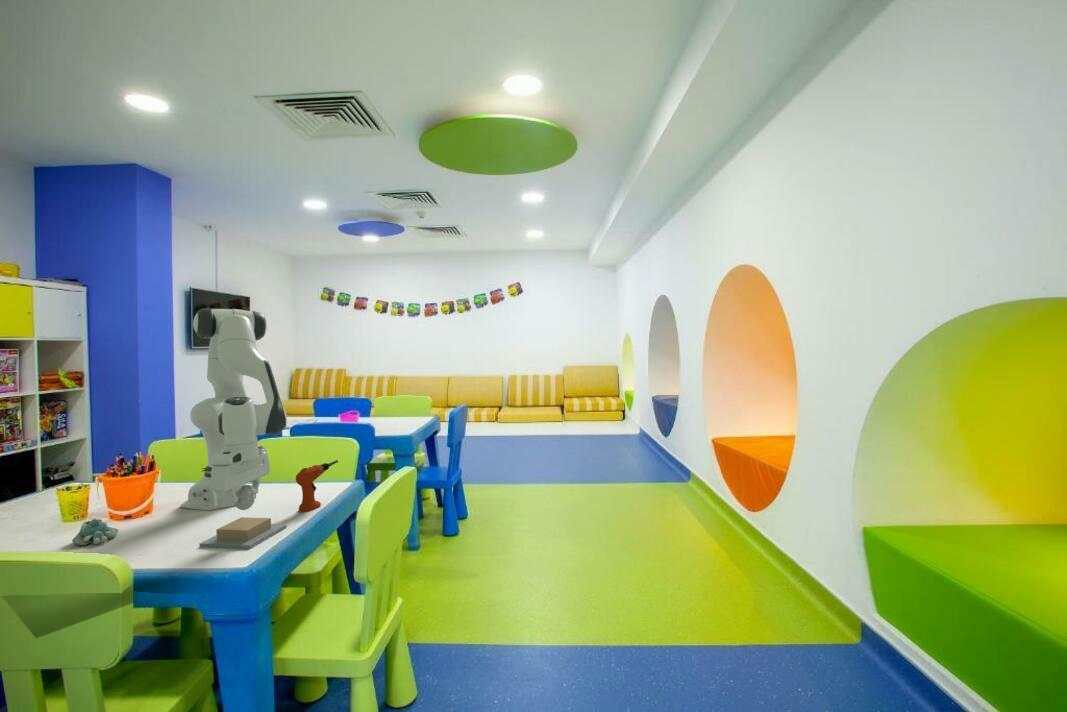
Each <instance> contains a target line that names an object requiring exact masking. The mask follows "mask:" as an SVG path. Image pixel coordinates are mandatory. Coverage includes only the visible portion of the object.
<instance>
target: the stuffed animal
mask: <svg viewBox="0 0 1067 712" xmlns="http://www.w3.org/2000/svg"><path fill="white" fill-rule="evenodd" d="M118 532H119V529H118V528H116V527H110V526H108V523H107V521H106V520H103V519H102V518H93V519H91V520H87V521H85V522H83V523H82V524H81V527H80V529H79V532H78V533H77V534H76V535H75V537H74V538H73V539H71V540H72V541H71V542H72V543H73V544H74V545H76V546H79V545H84V546H88V545H90V544H89V543H92V541H93V544H94V545H98V544H100V543H106V542H107V541H108V540H112V539H114V538H115V537H116V536H117V534H118ZM92 539H93V540H92ZM87 544H88V545H87Z"/></svg>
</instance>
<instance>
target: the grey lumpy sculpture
mask: <svg viewBox="0 0 1067 712" xmlns="http://www.w3.org/2000/svg"><path fill="white" fill-rule="evenodd" d="M257 494H258V493H257V490H256V488H255V487H253V486H252V485H250V484H246V485H243V486H241V488H240V489H239V490H238V491H237V492H236V493H235V495H236V496H239V501H238V502H236V503H234V504H235V505H234V506H235V507H236V508H237V509H238V510H240V511H246V510H249V509H250V508H251V507H252V506H253V505H254V504H255V499H256V498H257Z"/></svg>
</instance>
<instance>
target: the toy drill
mask: <svg viewBox="0 0 1067 712" xmlns="http://www.w3.org/2000/svg"><path fill="white" fill-rule="evenodd" d="M337 463H339V460H338V459H336V460H334V461H332V462H329V463H327V462H326V463H325V462H324V463H322V464H314V465H311V466H309V467H303V468H302V469H300V471H298V472H297V474H296V476H295V482H296V483H297V485H299V486H300V487H301V491H302V492H301V493H302V500H301V504H299V506H298V512H299V511H301V512H300V513H305V512H306V511H307V512H311V511H313V510H317V509H319V508H320V507H321V505H322V503H321V502H320V501H319V500H316V498H315V491H316V490H317V486H316V485H315V484H314V483H315V481H316V480H317V479H318V478H319V477H320V476H322V474H324V473H325V472H326V471H327V470H329V468H330V467H331V466H334V465H335V464H337ZM307 512H306V513H307Z"/></svg>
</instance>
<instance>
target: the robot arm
mask: <svg viewBox="0 0 1067 712" xmlns="http://www.w3.org/2000/svg"><path fill="white" fill-rule="evenodd" d="M192 323H193V324H192V325H193V330H194V331H195V335H197V336H198V337H199V338H201V339H206V340H210V341H209V345H208V351H207V352H208V353H207V357H208V358H207V370H206V378H207V381H208V382H209V383H210V384H211V385H212V387H213V391H214V396H215V397H211V398H210V397H209V398H206V399H204V400H202V401H199V402H198V403H196V404H194V405H193V407H192V408H191V410H190V414H189V415H190V416H189V417H190V421H191V423H192V424H193V425H194V426H195V428H198V429H199V430H200V432H201V434H202V436H203V438H204V441H205V445H206V453H207V466H205V467H203V468H201V471H200V472H201V473H203V472H204V474H203V477H201V478H200V479H199V480H198V481H196V483H194V484H193V485H192V486H191V487H190V488H189V490H188V492H187V493H188V494H187V500H185V501H182V503H181V504H180V505H179V506H180V508H185V509H194V510H200V511H208V512H209V511H213V510H217V509H221V508H222V509H223V508H229V507H232V506H233V507H234V506H235V504H234V503H236V502H238V501H239V496H236V495H235V493H236V492H237V491H238V490H239V489H240V488H241V486H243V485H247V484H248V483H252V484H251V486H253V487H255V488H256V490H257V494H259V487H260V484H261V479H262V478H263V477H265V476H268V475H269V474H270V472H271V464H270V458H269V455H268V453H267V449H266V447H264V446H262V445H260V446H259V440H258V436H262V435H263V436H264V435H266V436H267V435H270V436H272V435H278V434H280V433H281V432H283V430H284V429H285V428H286V427H287V423H288V415H287V412H286V409H285V407H284V405H283V403H282V399H281V397H280V393H279V389H278V386H277V383H276V380H275V377H274V373H273V370H272V366H271V364H270V362H269V361H268V359H267V358H265V357H262V356H261V355H260V353H259V352H258V350H257V341H259V340H261V339H262V338H263V337H265V335H266V333H267V329H268V323H267V320H266V316H265V315H264V314H263V313H261V312H259V311H255V310H252V311H251V310H246V309H245V310H244V309H237V308H232V309H230V308H210V307H207V308H201V309H199V310H197V312H196V314H195V316H194V318H193V321H192ZM243 376H246V377H250V378H253V379H255V380H257V381H258V382H259V383H260V384H261V386H262V389H263V392H264V397H265V400H266V402H265V403H261V404H255V403H254V400H253V399H252V398H251V397H248V395H247V393H246V389H245V385H244V377H243Z"/></svg>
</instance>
